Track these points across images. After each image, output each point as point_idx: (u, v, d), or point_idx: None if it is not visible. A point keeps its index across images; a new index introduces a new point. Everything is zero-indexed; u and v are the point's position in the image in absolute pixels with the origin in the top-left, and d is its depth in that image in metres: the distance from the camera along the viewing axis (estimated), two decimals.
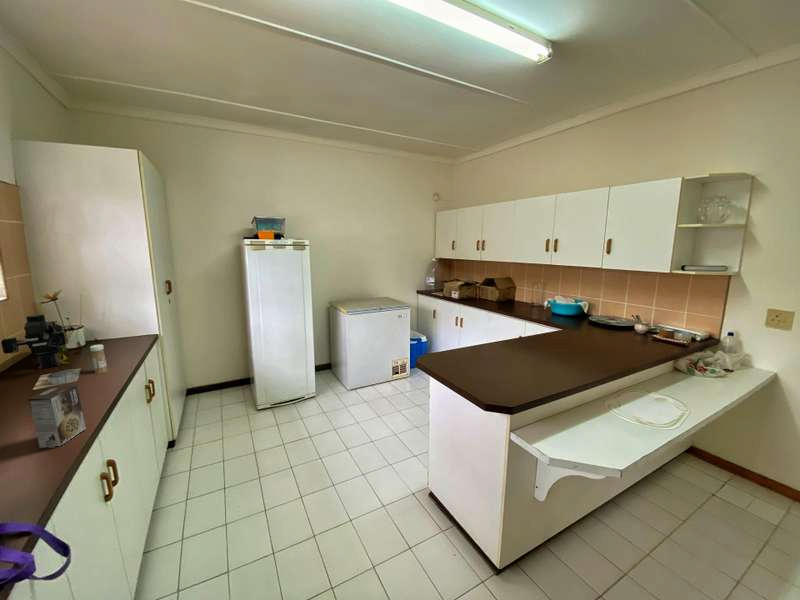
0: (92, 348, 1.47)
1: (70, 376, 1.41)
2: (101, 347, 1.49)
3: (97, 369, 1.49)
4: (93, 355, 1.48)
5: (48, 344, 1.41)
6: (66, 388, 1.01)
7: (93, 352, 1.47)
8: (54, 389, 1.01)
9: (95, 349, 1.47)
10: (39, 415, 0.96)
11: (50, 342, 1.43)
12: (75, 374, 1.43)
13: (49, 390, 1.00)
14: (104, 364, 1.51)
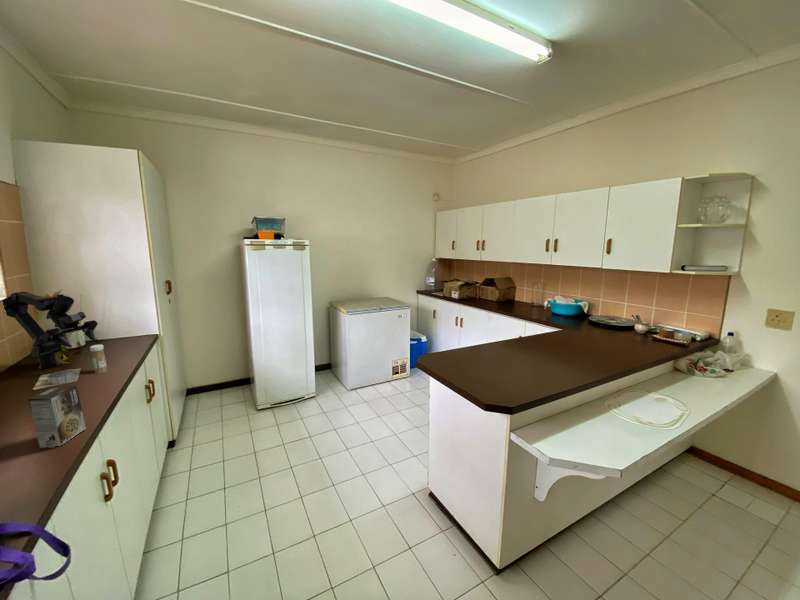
0: (92, 348, 1.47)
1: (70, 376, 1.41)
2: (101, 347, 1.49)
3: (97, 369, 1.49)
4: (93, 355, 1.48)
5: None
6: (66, 388, 1.01)
7: (93, 352, 1.47)
8: (54, 389, 1.01)
9: (95, 349, 1.47)
10: (39, 415, 0.96)
11: None
12: (75, 374, 1.43)
13: (49, 390, 1.00)
14: (104, 364, 1.51)
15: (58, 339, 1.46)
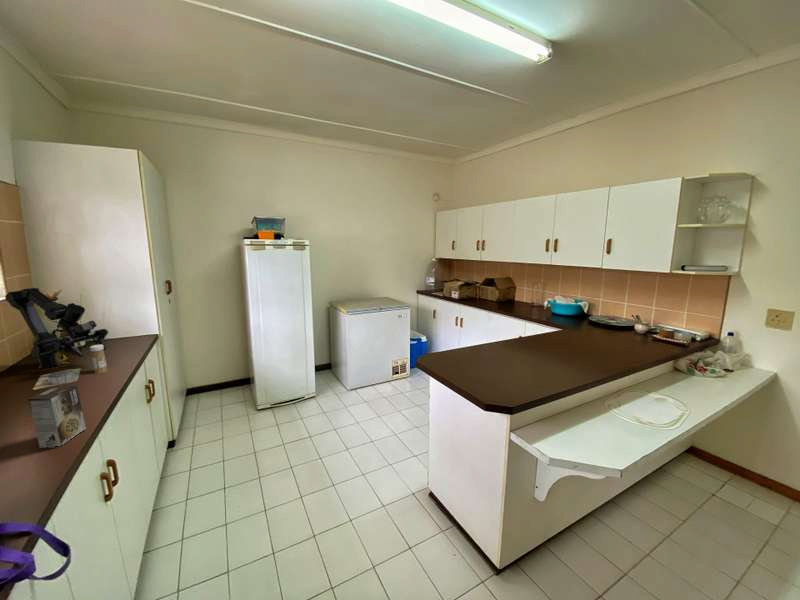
0: (92, 348, 1.47)
1: (70, 376, 1.41)
2: (101, 347, 1.49)
3: (97, 369, 1.49)
4: (93, 355, 1.48)
5: None
6: (66, 388, 1.01)
7: (93, 352, 1.47)
8: (54, 389, 1.01)
9: (95, 349, 1.47)
10: (39, 415, 0.96)
11: None
12: (75, 374, 1.43)
13: (49, 390, 1.00)
14: (104, 364, 1.51)
15: (69, 348, 1.45)
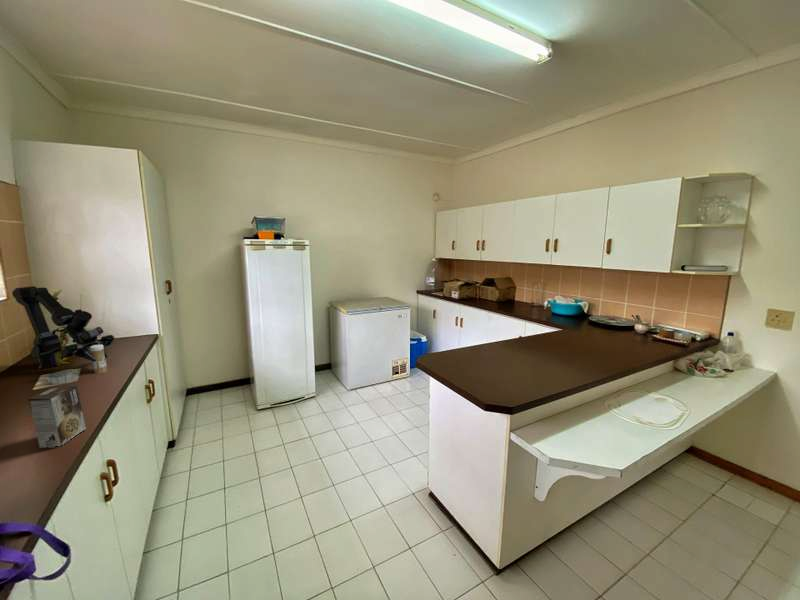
0: (92, 348, 1.47)
1: (70, 376, 1.41)
2: (101, 347, 1.49)
3: (97, 369, 1.49)
4: (93, 355, 1.48)
5: None
6: (66, 388, 1.01)
7: (93, 352, 1.47)
8: (54, 389, 1.01)
9: (95, 349, 1.47)
10: (39, 415, 0.96)
11: None
12: (75, 374, 1.43)
13: (49, 390, 1.00)
14: (104, 364, 1.51)
15: (82, 353, 1.47)
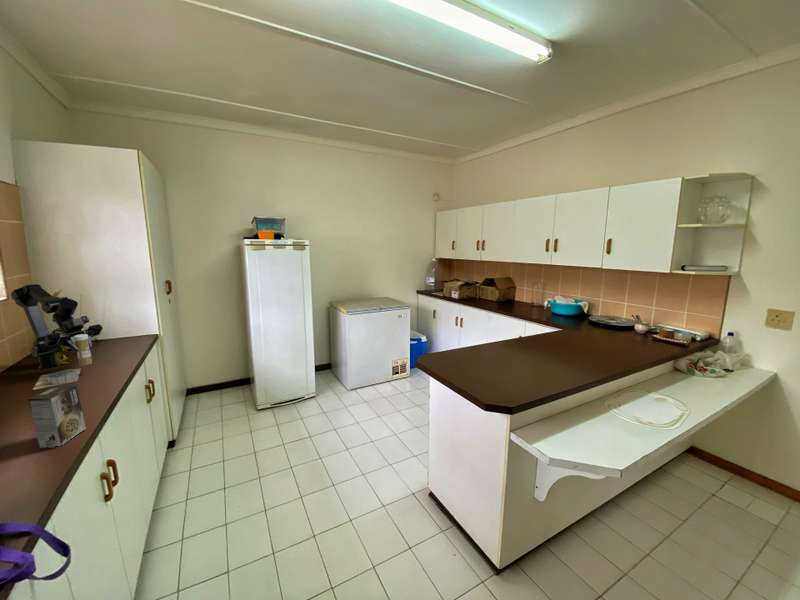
0: (75, 337, 1.42)
1: (70, 376, 1.41)
2: (85, 337, 1.44)
3: (80, 360, 1.44)
4: (76, 345, 1.43)
5: None
6: (66, 388, 1.01)
7: (76, 341, 1.42)
8: (54, 389, 1.01)
9: (78, 338, 1.42)
10: (39, 415, 0.96)
11: None
12: (75, 374, 1.43)
13: (49, 390, 1.00)
14: (88, 354, 1.46)
15: (66, 342, 1.43)
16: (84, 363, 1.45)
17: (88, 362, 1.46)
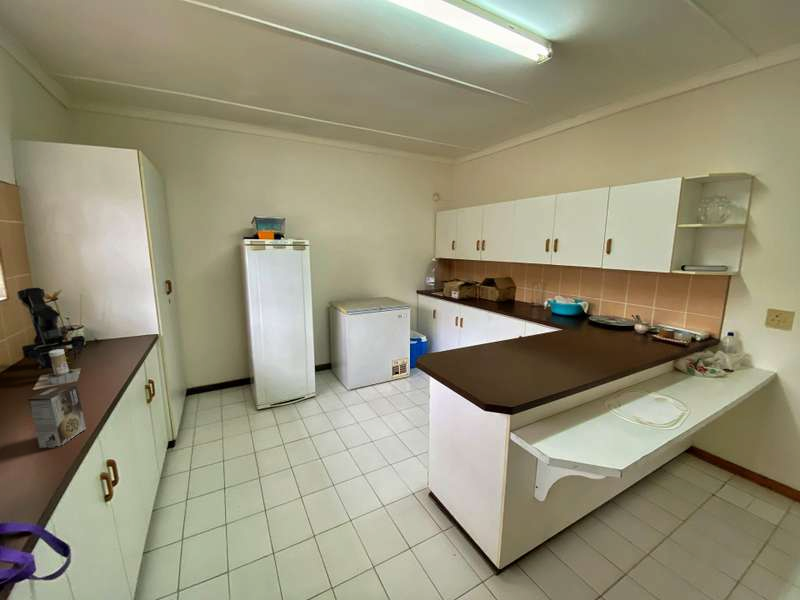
0: (49, 353, 1.37)
1: (70, 376, 1.41)
2: (59, 353, 1.39)
3: (56, 375, 1.40)
4: (51, 360, 1.38)
5: None
6: (66, 388, 1.01)
7: (51, 357, 1.38)
8: (54, 389, 1.01)
9: (52, 354, 1.37)
10: (39, 415, 0.96)
11: (76, 354, 1.45)
12: (75, 374, 1.43)
13: (49, 390, 1.00)
14: (64, 370, 1.41)
15: None
16: None
17: None
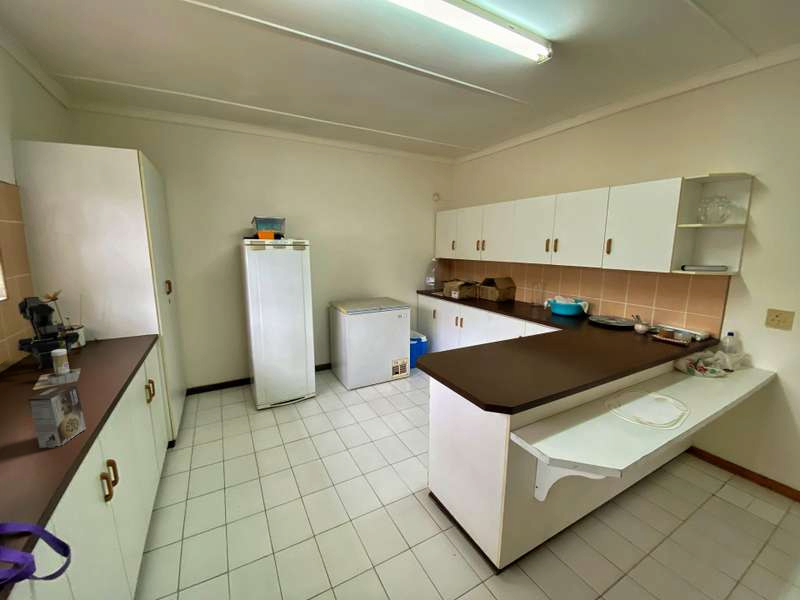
0: (52, 352, 1.38)
1: (70, 376, 1.41)
2: (61, 352, 1.39)
3: (56, 375, 1.40)
4: (53, 360, 1.39)
5: (69, 353, 1.50)
6: (66, 388, 1.01)
7: (53, 356, 1.38)
8: (54, 389, 1.01)
9: (54, 353, 1.38)
10: (39, 415, 0.96)
11: None
12: (75, 374, 1.43)
13: (49, 390, 1.00)
14: (65, 370, 1.41)
15: None
16: None
17: None
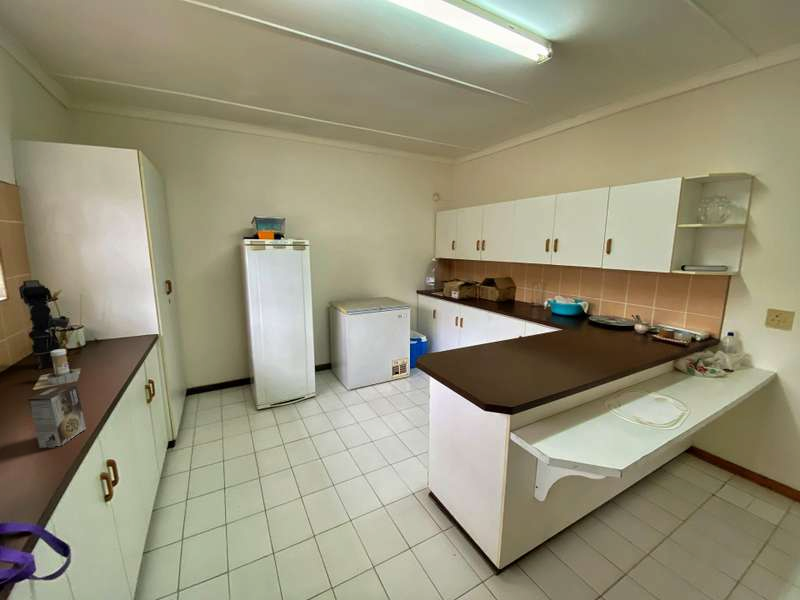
0: (51, 353, 1.38)
1: (70, 376, 1.41)
2: (61, 352, 1.39)
3: (56, 375, 1.40)
4: (53, 360, 1.39)
5: None
6: (66, 388, 1.01)
7: (52, 357, 1.38)
8: (54, 389, 1.01)
9: (53, 354, 1.38)
10: (39, 415, 0.96)
11: None
12: (75, 374, 1.43)
13: (49, 390, 1.00)
14: (65, 370, 1.41)
15: (39, 338, 1.41)
16: None
17: None
